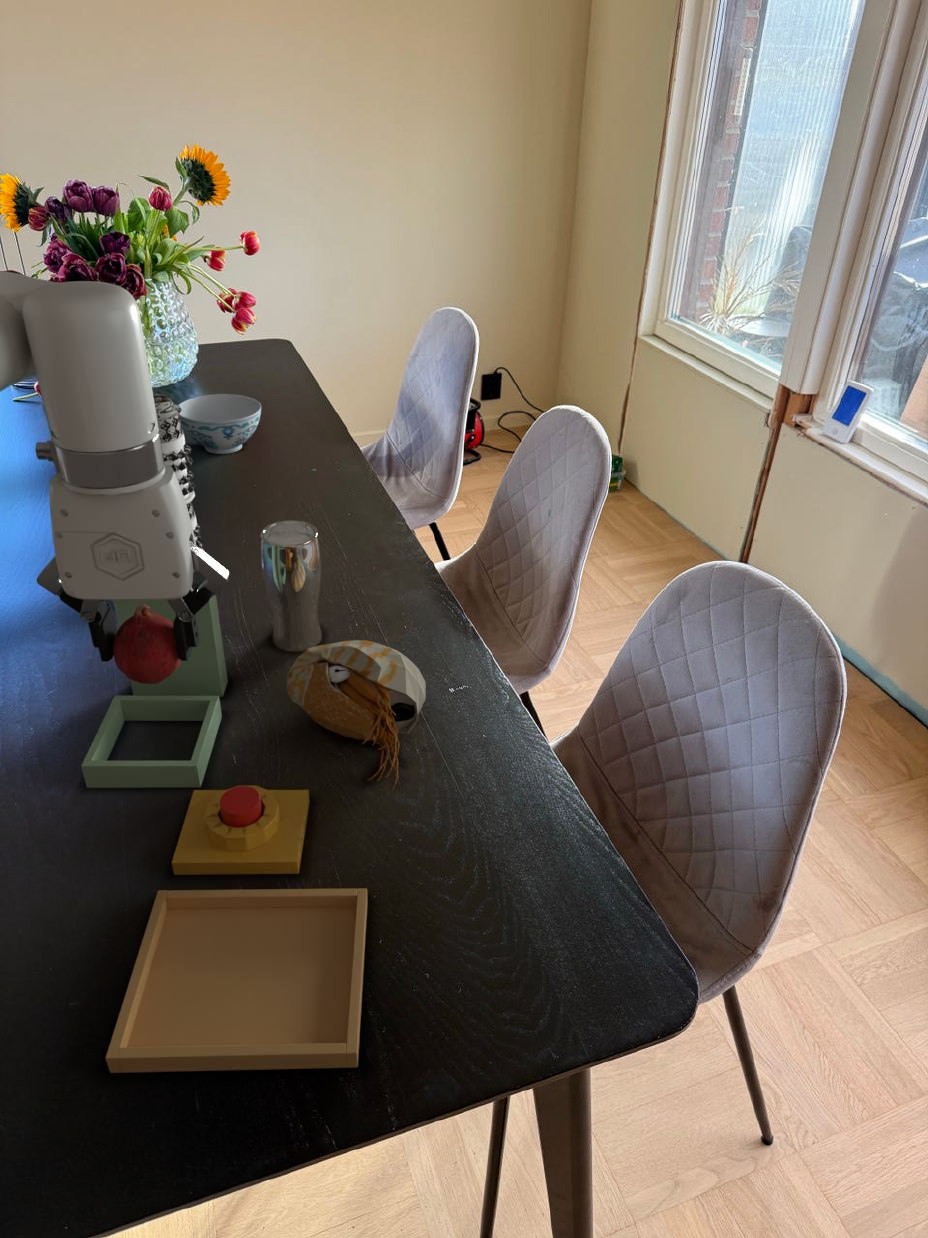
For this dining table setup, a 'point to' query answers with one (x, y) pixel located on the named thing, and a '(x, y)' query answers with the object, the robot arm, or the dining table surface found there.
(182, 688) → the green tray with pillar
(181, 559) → the robot arm
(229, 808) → the button
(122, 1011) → the oak tray
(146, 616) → the pomegranate
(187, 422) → the chinaware
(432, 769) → the dining table surface
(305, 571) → the beer glass
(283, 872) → the button panel
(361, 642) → the nautilus
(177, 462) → the decorative candle
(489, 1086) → the dining table surface
